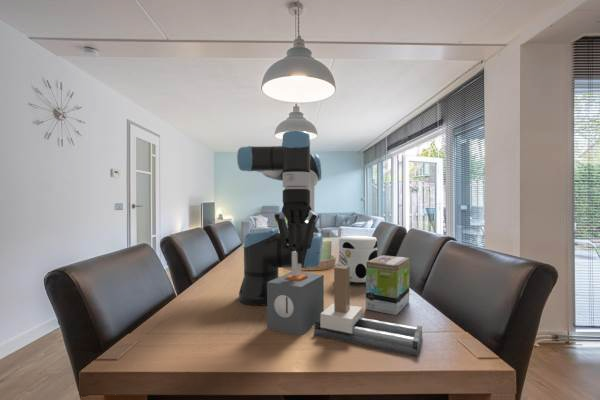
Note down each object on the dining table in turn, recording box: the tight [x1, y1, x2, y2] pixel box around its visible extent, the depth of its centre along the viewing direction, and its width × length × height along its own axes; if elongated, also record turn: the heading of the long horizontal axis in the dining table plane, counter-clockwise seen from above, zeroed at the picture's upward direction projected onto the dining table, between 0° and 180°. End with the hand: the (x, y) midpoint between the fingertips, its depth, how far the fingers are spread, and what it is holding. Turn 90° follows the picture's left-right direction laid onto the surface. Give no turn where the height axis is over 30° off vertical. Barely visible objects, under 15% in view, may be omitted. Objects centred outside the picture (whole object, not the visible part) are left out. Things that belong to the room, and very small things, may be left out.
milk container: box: [336, 235, 378, 285], centre depth 127 cm, size 17×17×18 cm
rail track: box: [313, 317, 423, 357], centre depth 75 cm, size 24×10×3 cm, turn 63°
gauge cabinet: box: [266, 271, 325, 337], centre depth 84 cm, size 10×14×12 cm
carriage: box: [320, 265, 364, 333], centre depth 78 cm, size 8×9×14 cm
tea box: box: [365, 254, 411, 316], centre depth 98 cm, size 15×10×15 cm, turn 148°
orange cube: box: [286, 274, 307, 281], centre depth 84 cm, size 4×4×4 cm
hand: (296, 275), depth 84 cm, fingers closed
